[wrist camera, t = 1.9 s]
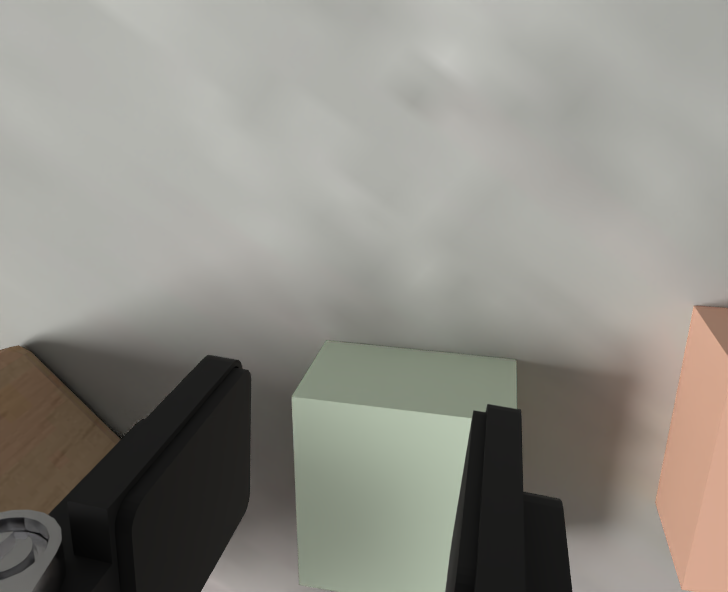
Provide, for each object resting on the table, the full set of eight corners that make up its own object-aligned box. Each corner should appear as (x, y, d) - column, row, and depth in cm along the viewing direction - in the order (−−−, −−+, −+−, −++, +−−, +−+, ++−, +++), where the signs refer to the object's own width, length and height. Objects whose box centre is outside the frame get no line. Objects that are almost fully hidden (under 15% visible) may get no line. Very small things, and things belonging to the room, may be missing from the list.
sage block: (327, 338, 28) (291, 396, 23) (516, 357, 26) (517, 423, 22) (330, 505, 31) (298, 585, 27) (497, 531, 30) (495, 619, 25)
